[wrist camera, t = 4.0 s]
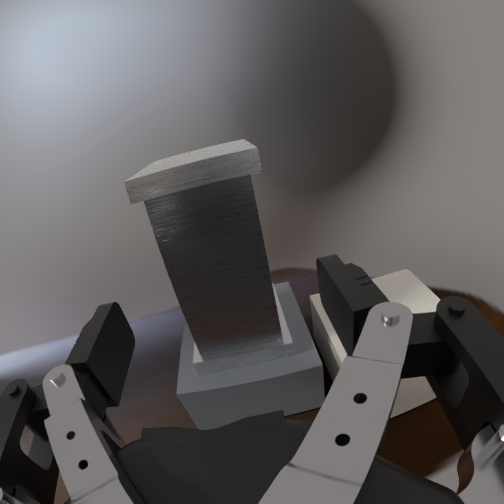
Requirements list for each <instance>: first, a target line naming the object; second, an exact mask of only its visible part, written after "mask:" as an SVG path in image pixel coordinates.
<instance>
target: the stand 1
mask: <svg viewBox="0 0 504 504" xmlns="http://www.w3.org/2000/svg"><path fill="white" fill-rule="evenodd" d="M274 287H275V290H276V293H277V296H278V299H279V302H280V305H281V308H282V311H283V314H284V317H285V320H286V323H287V327H288V330H289V333H290V336H291V339H292V342H293V347H294V353H295V355H294V356H290V357H286V358H282V359H277V360H273V361H269V362H264V363H260V364H255V365H250V366H245V367H240V368H235V369H230V370H225V371H219V372H214V373H208V374H202V375H198V373H197V371H196V369H195V367H194V365H193V354H194V339H193V337H192V334H191V332H190V329H189V327H188V324H187V322H186V319H185V320H184V328H183V336H182V345H181V354H180V363H179V372H178V383H177V393H176V395H177V396H178V398H179V400H180V401H181V403H182V404H183V406H184V408H185V409H186V411H187V412H188V414H189V415H190V417H191V419H192V420H193V422H194V423H195V425H196V426H197V428H198V429H199V430H209V429H216V428H219V427H222V426H224V425H227V424H230V423H232V422H235V421H238V420H240V419H243V418H245V417H250V416H255V415H260V414H266V413H270V412H275V411H280V410H283V412H284V416H287V415H291V414H295V413H300V412H303V411H307V410H311V409H315V408H319V407H322V405H323V403H324V401H325V394H324V376H323V364H322V362H321V359H320V357H319V354H318V352H317V349H316V347H315V345H314V342H313V340H312V337H311V335H310V332H309V330H308V328H307V325H306V323H305V320H304V318H303V315H302V313H301V311H300V308H299V306H298V304H297V301H296V299H295V296H294V294H293V292H292V289H291V287H290V285H289V282H284V283H280V284H275V285H274Z"/></svg>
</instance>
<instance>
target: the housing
mask: <svg viewBox="0 0 504 504" xmlns="http://www.w3.org/2000/svg"><path fill="white" fill-rule="evenodd" d="M259 172H262V170H261V165H260V160H259V154H258V150H257V147H255V146H254V145H252V144H251V143H249V142H247V141H246V140H244V139H242V140H238V141H233V142H228V143H224V144H219V145H215V146H211V147H207V148H203V149H199V150H195V151H191V152H187V153H183V154H179V155H176V156H172V157H169V158H165V159H162V160H158V161H155V162H154V163H152V164H150V165H149V166H147V167H146V168H144V169H143V170H141V171H140V172H138V173H137V174H135V175H134V176H132V177H131V178H129V179H128V180H127V181H125V182H124V184H125V187H126V190H127V194H128V197H129V200H130V203H131V204H135V203H138V202H142V201H144V203H145V206H146V210H147V213H148V216H149V219H150V223H151V226H152V229H153V232H154V235H155V238H156V241H157V243H158V246H159V250H160V253H161V255H162V258H163V261H164V264H165V267H166V270H167V272H168V275H169V278H170V280H171V283H172V286H173V288H174V291H175V294H176V296H177V299H178V302H179V304H180V307H181V309H182V312H183V314H184V317H185V319H186V322H187V324H188V327H189V329H190V332H191V334H192V337H193V339H194V354H193V365H194V367H195V369H196V371H197V373H198V375H202V374H208V373H214V372H219V371H225V370H230V369H235V368H240V367H245V366H250V365H255V364H260V363H264V362H269V361H273V360H277V359H282V358H286V357H290V356H294V355H295V353H294V347H293V342H292V339H291V336H290V333H289V330H288V327H287V323H286V320H285V317H284V314H283V311H282V308H281V305H280V302H279V299H278V296H277V293H276V290H275V287H274V284H273V282H272V280H271V275H270V269H269V265H268V259H267V255H266V250H265V245H264V239H263V234H262V230H261V225H260V220H259V215H258V210H257V205H256V200H255V195H254V190H253V186H252V181H251V176H250V174H254V173H259Z"/></svg>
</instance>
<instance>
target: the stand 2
mask: <svg viewBox="0 0 504 504" xmlns="http://www.w3.org/2000/svg"><path fill="white" fill-rule="evenodd" d="M372 281H373V283H375V284H376V285H377V286H378V288H379V289H380V290H381V291H382V292H383V294H384V295H385V296H386V297H387V298H388V300H389V301H390V302H398V303H401V304H404V305H405V306H407V307H408V308H409V309H410V310H411V312H412V313H427V312H436V306H437V303H438V302H439V301H440V299H439V298H438V297H437V296H436V295H435V294H434V293H433V292H432V291H431V290H430V289H429V288H428V287H427V286H426V285H424V284H423V283H422V282H421V281H420V280H419V279H418V278H417V277H416V276H415V275H414V274H413V273H412V272H410V271H409V270H408V269H404V270H401V271H397V272H394V273H391V274H387V275H384V276H381V277H377V278H373V279H372ZM310 304H311V313H312V322H313V332H314V338H315V341H316V343H317V346H318V348H319V350H320V353H321V355H322V358H323V360H324V362H325V365H326V367H327V370H328V372H329V375H330V377H331V379H332V382H334V380H335V378H336V376H337V374H338V372H339V370H340V367H341V365H342V363H343V361H344V359H345V357H346V356H347V353H346V351H345V349H344V347H343V345H342V343H341V341H340V339H339V337H338V335H337V333H336V331H335V330H334V328H333V326H332V324H331V322H330V320H329V318H328V316H327V314H326V312H325V310H324V308H323V306H322V303H321V299H320V294H319V293H318V294H314V295H311V296H310ZM434 398H436V395H435V393H434V392H433V390H432V388H431V386H430V384H429V383H428V381H427V379H426V377H425V376H423V377H415V378H405V379H401V382H400V386H399V389H398V393H397V397H396V400H395V404H394V407H393V410H392V414H391V417H390V418H392V417H394V416H397V415H399V414H402V413H404V412H406V411H409V410H411V409H413V408H415V407H417V406H420V405H422V404H424V403H426V402H428V401H430V400H432V399H434Z"/></svg>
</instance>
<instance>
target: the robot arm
mask: <svg viewBox="0 0 504 504" xmlns="http://www.w3.org/2000/svg"><path fill="white" fill-rule="evenodd" d="M316 264H317V274H318V284H319V294H320V299H321V303H322V306H323V308H324V310H325V312H326V314H327V316H328V318H329V320H330V322H331V324H332V326H333V328H334V330H335V331H336V333H337V335H338V337H339V339H340V341H341V343H342V345H343V347H344V349H345V351H346V353H347V356H346V357H345V359H344V361H343V363H342V365H341V367H340V370H339V372H338V374H337V376H336V378H335V380H334V382H333V384H332V387H331V389H330V391H329V393H328V395H327V397H326V399H325V401H324V403H323V405H322V407H321V409H320V411H319V413H318V414H317V416H316V418H315V420H314V422H308V421H303V420H285V416H284V412H283V410H280V411H275V412H270V413H266V414H260V415H255V416H250V417H245V418H243V419H240V420H238V421H235V422H232V423H230V424H227V425H224V426H222V427H219V428H216V429H213V430H197V429H189V428H181V427H161V428H143V430H142V436H141V439H139V440H136V441H133V442H131V443H129V444H127V445H126V443H125V441H124V440H123V438H122V437H121V435H120V433H119V432H118V430H117V428H116V427H115V425H114V423H113V422H112V420H111V418H110V416H109V415H108V414H107V413H106V412H105V411H106V408H107V407H117V406H119V402H120V398H121V394H122V390H123V387H124V383H125V379H126V375H127V372H128V368H129V364H130V361H131V357H132V354H133V350H134V347H135V338H134V334H133V331H132V329H131V327H130V325H129V323H128V321H127V319H126V317H125V315H124V313H123V311H122V309H121V307H120V306H119V304H118V303H116V302H113V303H108V304H103V305H100V306H98V308H97V310H96V312H95V314H94V316H93V318H92V319H91V320H90V321H89V322H88V323H87V324H86V325H85V326H84V327H83V329H82V331H81V333H80V337H78V339H77V341H76V344H75V345H74V347H73V349H72V351H71V353H70V355H69V357H68V359H67V361H66V363H65V365H59V366H57V367H55V368H53V369H52V370H50V371H49V372H48V373H47V375H46V376H45V378H44V380H43V385H40V386H37V387H34V388H31V387H30V386H29V384H28V383H27V382H26V381H25V380H24V379H17V380H15V381H13V382H12V383H10V384H9V385H8V386H7V387H6V389H5V391H4V392H3V395H2V397H1V399H0V504H54V498H55V492H56V486H57V480H58V475H59V470H60V472H61V475H62V478H63V480H64V483H65V485H66V487H67V490H68V492H69V494H70V498H69V499H68V500H67V501H66V502H65V503H64V504H504V337H503V336H502V335H501V334H500V332H499V331H498V330H497V329H496V328H495V327H494V326H493V325H492V323H491V322H490V321H489V320H488V319H487V318H486V317H485V316H484V315H483V314H482V313H481V312H480V310H479V309H478V308H477V307H476V306H475V305H474V304H473V303H472V302H471V301H469V300H468V299H466V298H463V297H459V296H448V297H445V298H443V299H441V300H440V301H439V302H438V303H437V306H436V312H427V313H412V312H411V310H410V309H409V308H408V307H407V306H405V305H404V304H401V303H398V302H390V301H389V300H388V298H387V297H386V296H385V295H384V294H383V292H382V291H381V290H380V289H379V288H378V286H377V285H376V284H375V283H373V281H372V279H371V278H370V277H368V275H367V274H366V272H365V271H364V270H363V269H362V268H360V267H358V266H356V265H354V264H352V263H350V264H346V265H345V264H344V263H343V262H342V261H341V260H340V258H339V257H338V256H337V255H336V254H334V255H329V256H325V257H321V258H317V261H316ZM423 376H425V377H426V379H427V381H428V383H429V384H430V386H431V388H432V390H433V392H434V393H435V395H436V397H437V399H438V401H439V402H440V404H441V406H442V408H443V410H444V412H445V414H446V416H447V417H448V419H449V421H450V423H451V425H452V427H453V429H454V431H455V433H456V435H457V437H458V439H459V441H460V443H461V445H462V447H463V449H464V452H463V453H462V455H461V456H460V458H459V461H458V465H457V471H458V476H459V487H458V490H457V493H455V492H454V491H452V490H451V489H449V488H447V487H445V486H443V485H440V484H438V483H435V482H433V481H431V480H428V479H426V478H424V477H422V476H419V475H417V474H415V473H413V472H410V471H408V470H406V469H404V468H402V467H400V466H398V465H396V464H394V463H392V462H390V461H388V460H386V459H384V458H382V457H380V456H378V452H379V450H380V447H381V444H382V441H383V439H384V436H385V433H386V429H387V426H388V423H389V420H390V417H391V414H392V410H393V407H394V404H395V400H396V397H397V393H398V389H399V386H400V382H401V379H405V378H415V377H423ZM25 425H26V426H27V427H28V428H29V429H30V430H31V431H32V432H33V433H34V434H35V436H34V439H33V442H32V446H31V449H30V452H29V456H27V455H25V454H24V453H23V451H22V450H21V448H20V438H21V435H22V432H23V429H24V426H25Z"/></svg>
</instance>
